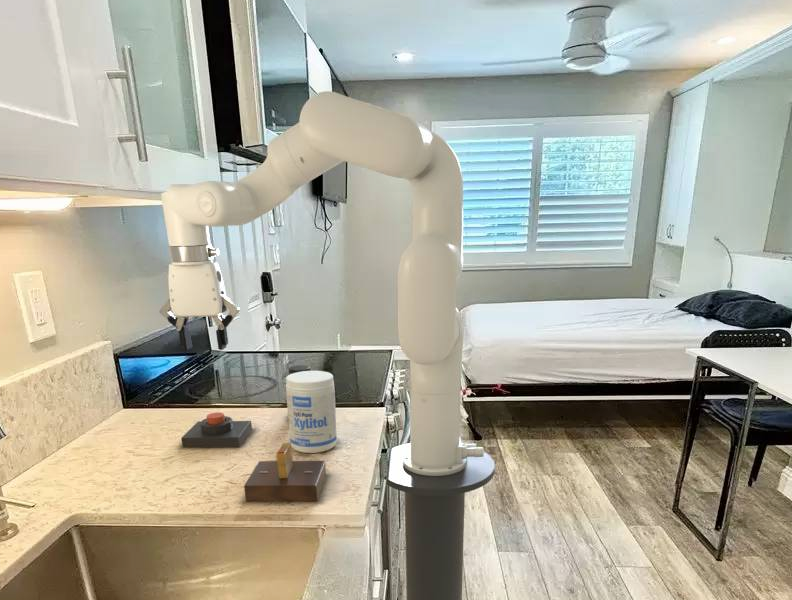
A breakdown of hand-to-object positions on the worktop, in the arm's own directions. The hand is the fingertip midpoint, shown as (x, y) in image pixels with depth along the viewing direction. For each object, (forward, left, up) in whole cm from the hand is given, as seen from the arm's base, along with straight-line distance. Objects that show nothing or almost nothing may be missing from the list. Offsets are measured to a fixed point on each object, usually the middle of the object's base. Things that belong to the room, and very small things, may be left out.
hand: (205, 348), depth 115 cm
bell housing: (0, 0, -20) cm, 20 cm away
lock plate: (-20, +24, -20) cm, 37 cm away
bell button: (0, 0, -16) cm, 16 cm away
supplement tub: (-22, +5, -20) cm, 30 cm away
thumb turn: (-20, +24, -17) cm, 35 cm away
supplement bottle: (-16, -13, -20) cm, 29 cm away
